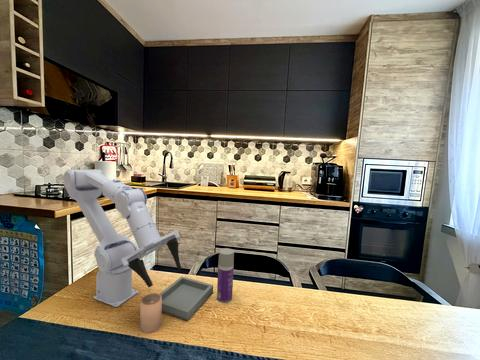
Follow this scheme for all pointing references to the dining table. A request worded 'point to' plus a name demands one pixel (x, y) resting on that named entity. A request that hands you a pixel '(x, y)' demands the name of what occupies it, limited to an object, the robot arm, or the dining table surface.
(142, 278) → the robot arm
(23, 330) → the dining table surface
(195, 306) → the tray
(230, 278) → the container
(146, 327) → the cup
